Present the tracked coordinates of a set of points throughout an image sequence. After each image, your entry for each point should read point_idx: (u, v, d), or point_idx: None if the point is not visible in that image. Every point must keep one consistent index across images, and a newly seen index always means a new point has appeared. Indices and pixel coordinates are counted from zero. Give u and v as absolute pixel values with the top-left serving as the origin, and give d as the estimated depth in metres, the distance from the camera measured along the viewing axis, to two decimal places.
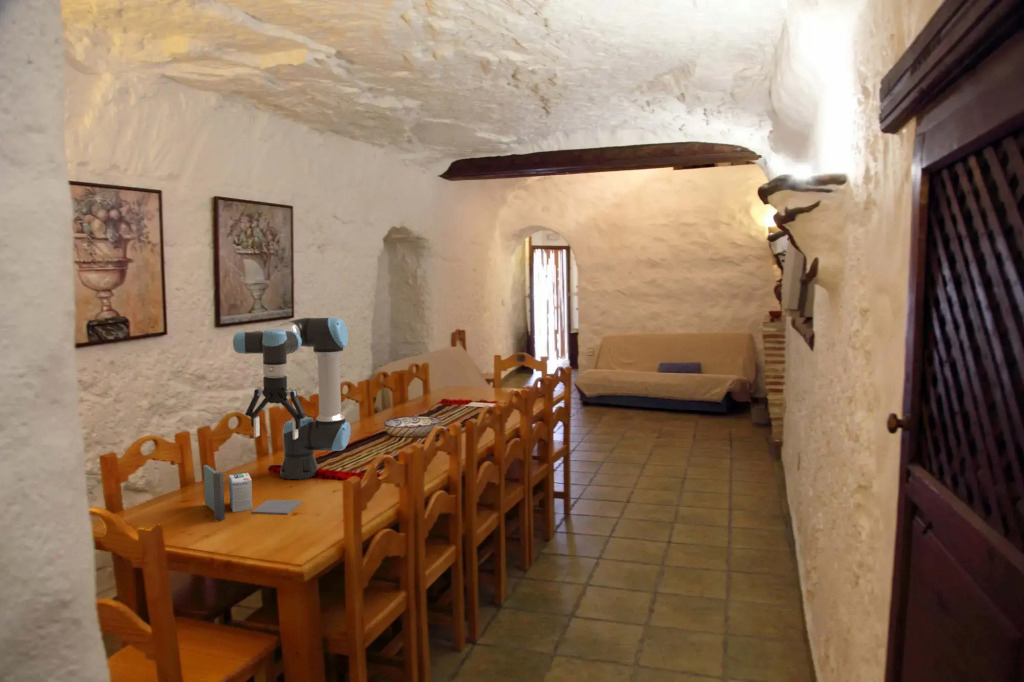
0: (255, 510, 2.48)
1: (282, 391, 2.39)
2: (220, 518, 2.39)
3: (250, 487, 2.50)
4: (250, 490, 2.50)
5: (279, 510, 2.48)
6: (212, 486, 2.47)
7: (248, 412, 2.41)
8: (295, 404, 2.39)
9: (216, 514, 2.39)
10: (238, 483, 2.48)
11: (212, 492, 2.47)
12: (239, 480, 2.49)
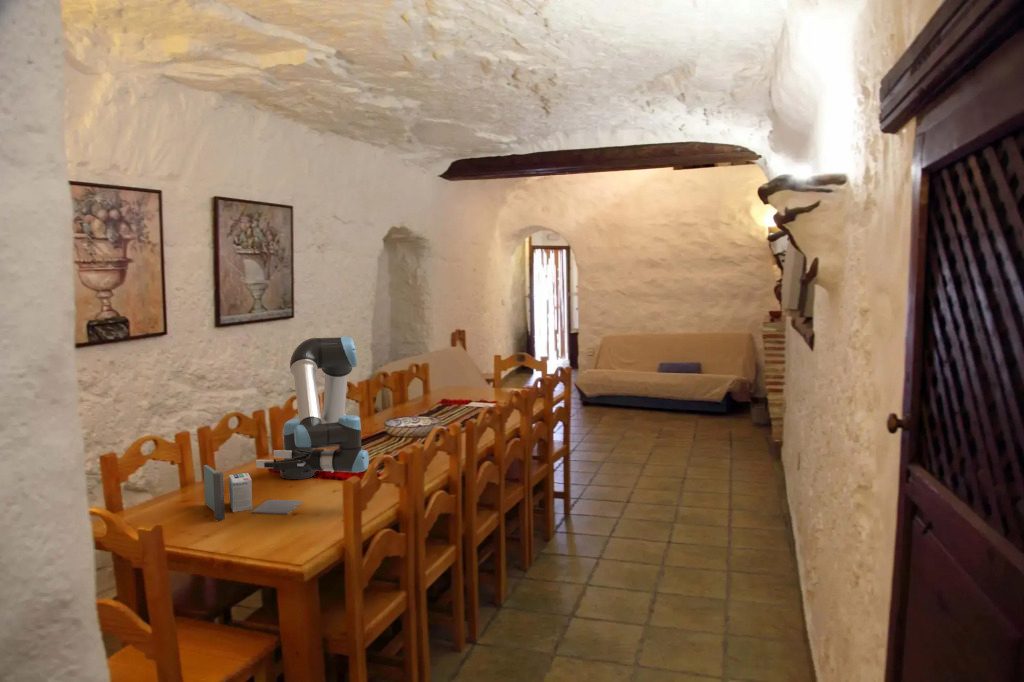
0: (255, 510, 2.48)
1: None
2: (220, 518, 2.39)
3: (250, 487, 2.50)
4: (250, 490, 2.50)
5: (279, 510, 2.48)
6: (212, 486, 2.47)
7: None
8: None
9: (216, 514, 2.39)
10: (238, 483, 2.48)
11: (212, 492, 2.47)
12: (239, 480, 2.49)
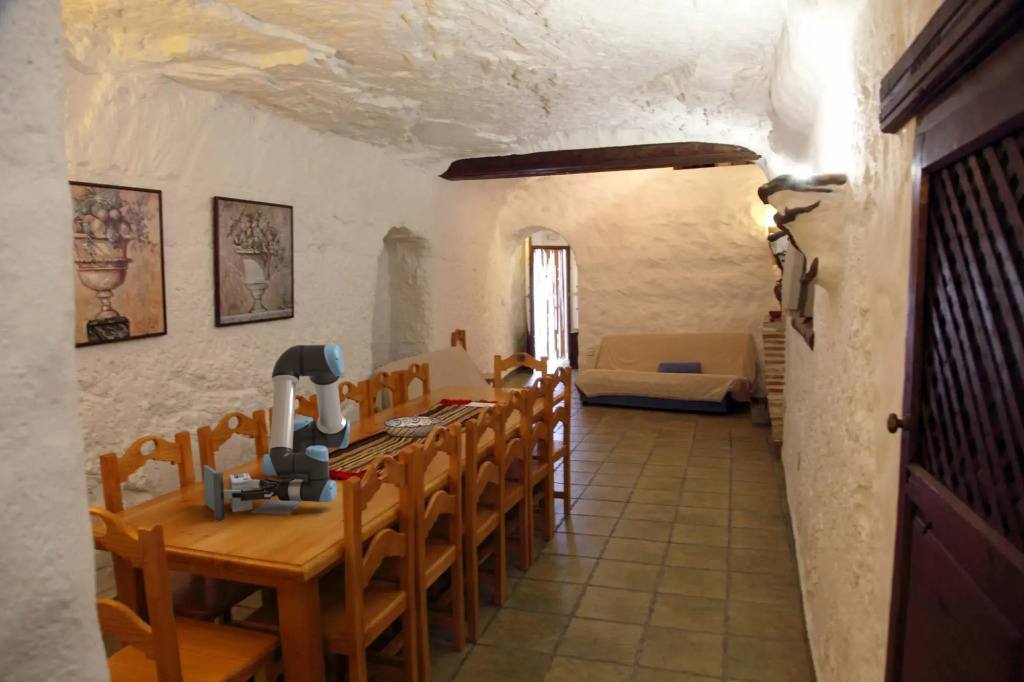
0: (255, 510, 2.48)
1: None
2: (220, 518, 2.39)
3: (250, 487, 2.50)
4: (250, 489, 2.50)
5: (279, 510, 2.48)
6: (212, 486, 2.47)
7: None
8: None
9: (216, 514, 2.39)
10: (238, 483, 2.48)
11: (212, 492, 2.47)
12: (239, 480, 2.49)
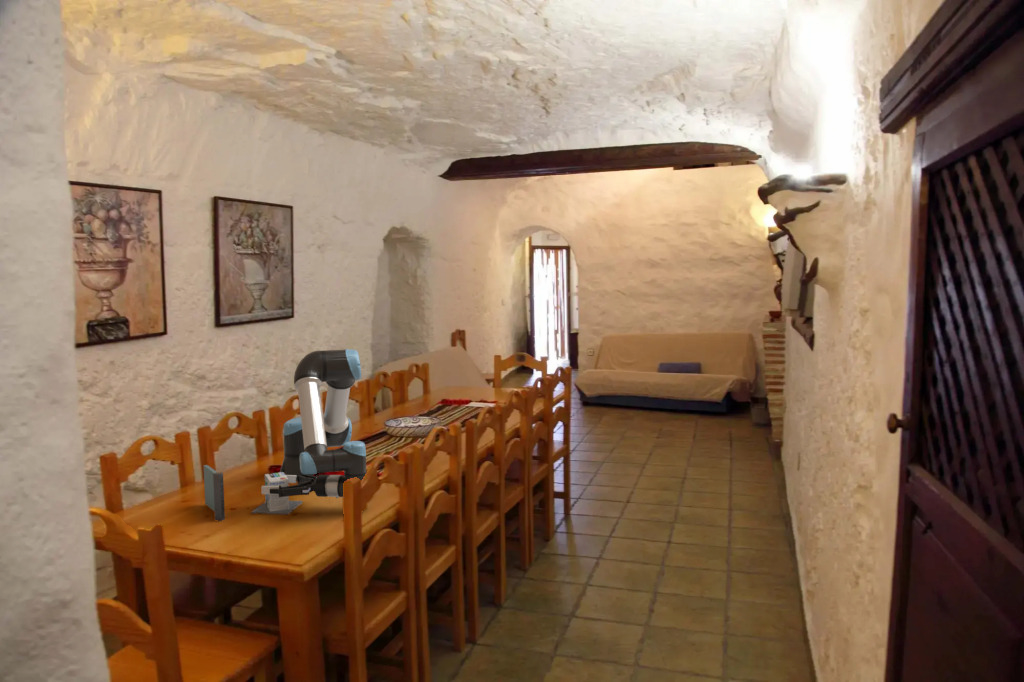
0: (255, 510, 2.48)
1: None
2: (220, 518, 2.39)
3: None
4: None
5: (279, 510, 2.48)
6: (212, 486, 2.47)
7: None
8: None
9: (216, 514, 2.39)
10: (275, 482, 2.46)
11: (212, 492, 2.47)
12: (276, 479, 2.47)
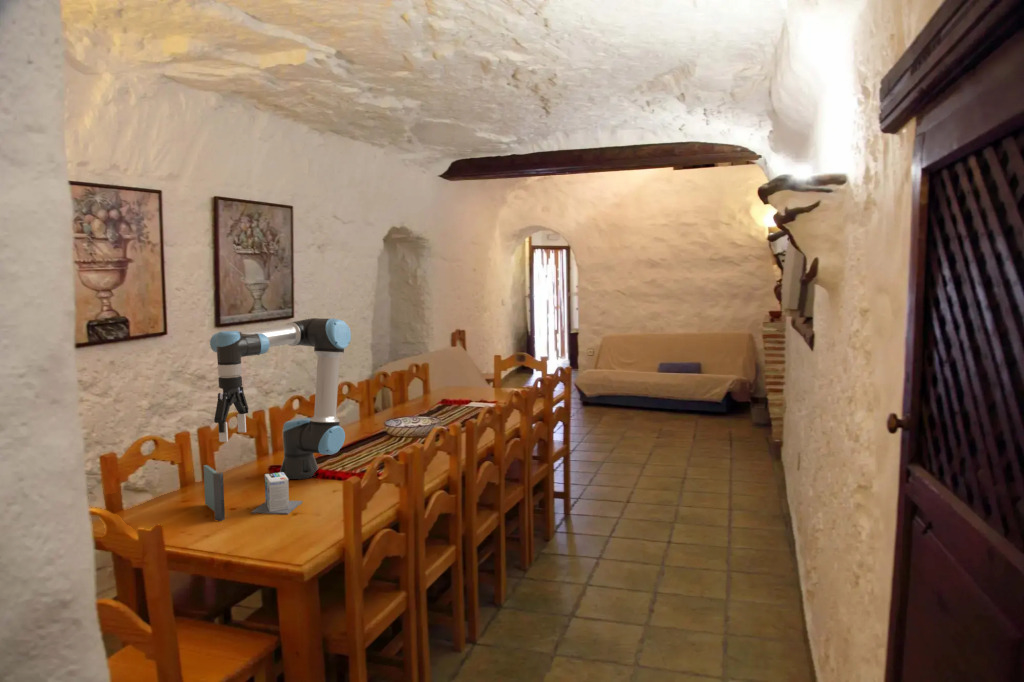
0: (255, 510, 2.48)
1: None
2: (220, 518, 2.39)
3: (287, 486, 2.48)
4: (286, 489, 2.48)
5: (279, 510, 2.48)
6: (212, 486, 2.47)
7: None
8: None
9: (216, 514, 2.39)
10: (275, 482, 2.46)
11: (212, 492, 2.47)
12: (276, 479, 2.47)
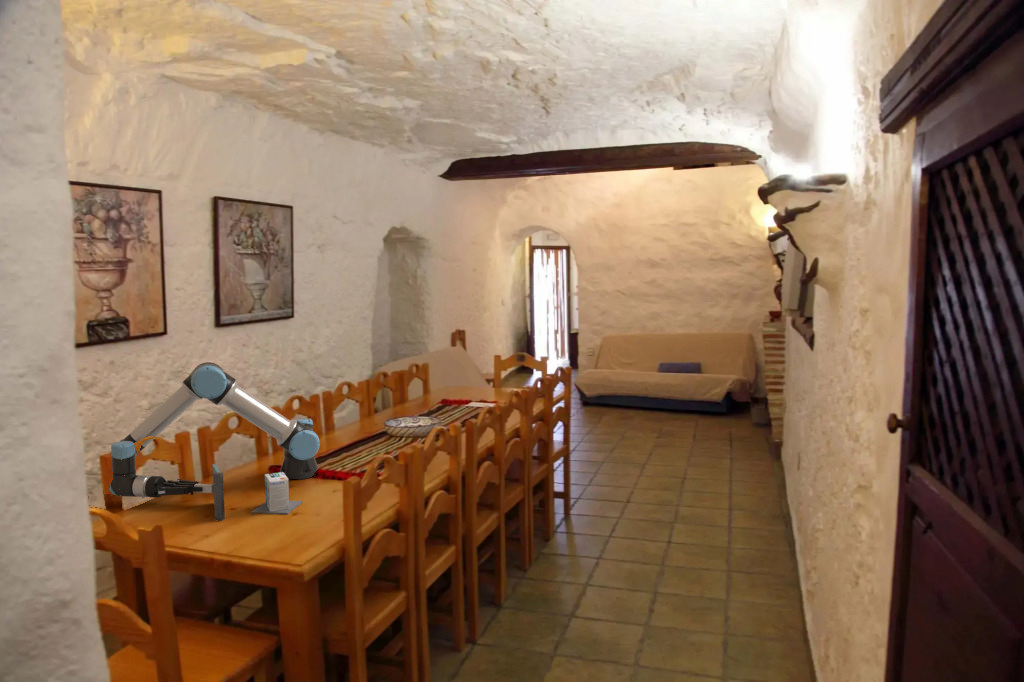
0: (255, 510, 2.48)
1: None
2: (220, 518, 2.39)
3: (287, 486, 2.48)
4: (286, 489, 2.48)
5: (279, 510, 2.48)
6: None
7: None
8: None
9: (216, 514, 2.39)
10: (275, 482, 2.46)
11: None
12: (276, 479, 2.47)
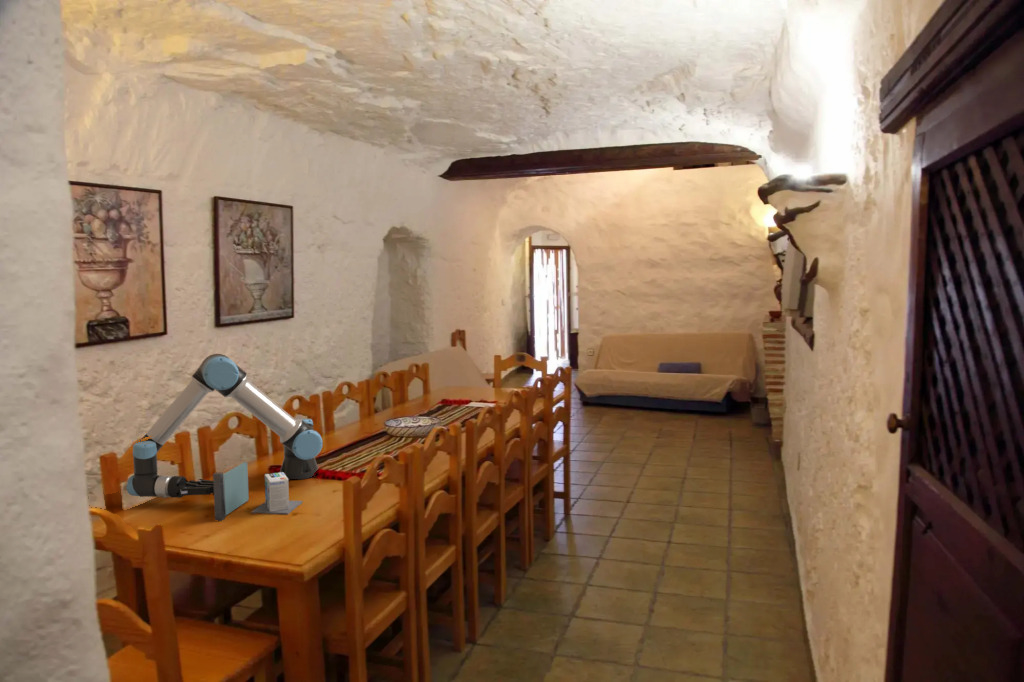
0: (255, 510, 2.48)
1: None
2: (220, 518, 2.39)
3: (287, 486, 2.48)
4: (286, 489, 2.48)
5: (279, 510, 2.48)
6: None
7: None
8: None
9: (216, 514, 2.39)
10: (275, 482, 2.46)
11: None
12: (276, 479, 2.47)
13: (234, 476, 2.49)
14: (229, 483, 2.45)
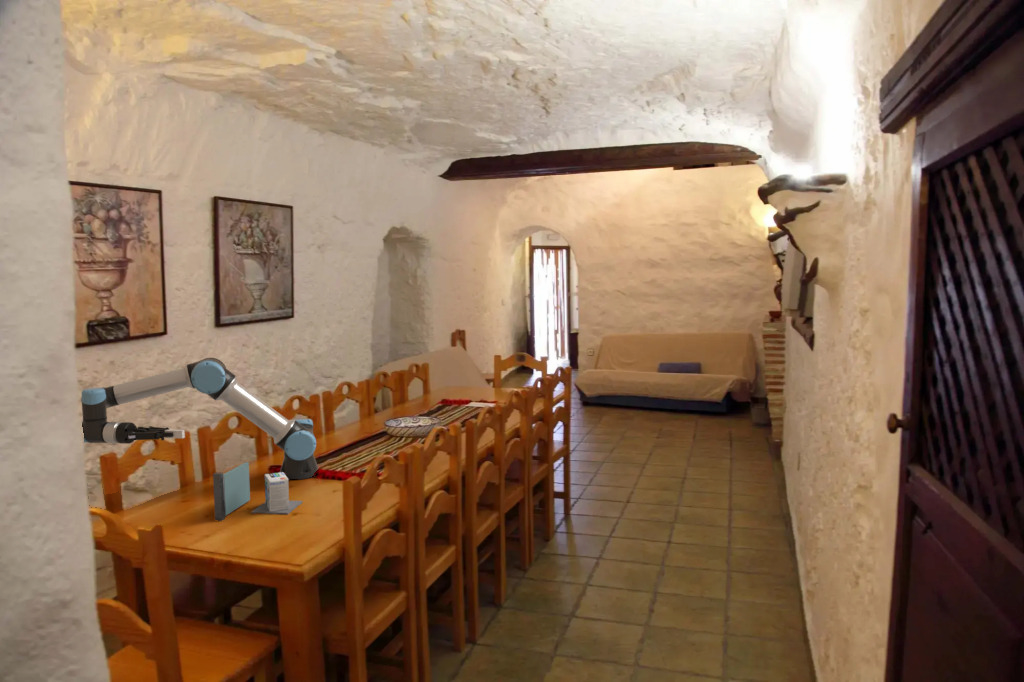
0: (255, 510, 2.48)
1: None
2: (220, 518, 2.39)
3: (287, 486, 2.48)
4: (286, 489, 2.48)
5: (279, 510, 2.48)
6: None
7: None
8: None
9: (216, 514, 2.39)
10: (275, 482, 2.46)
11: None
12: (276, 479, 2.47)
13: (235, 476, 2.49)
14: (229, 483, 2.45)
